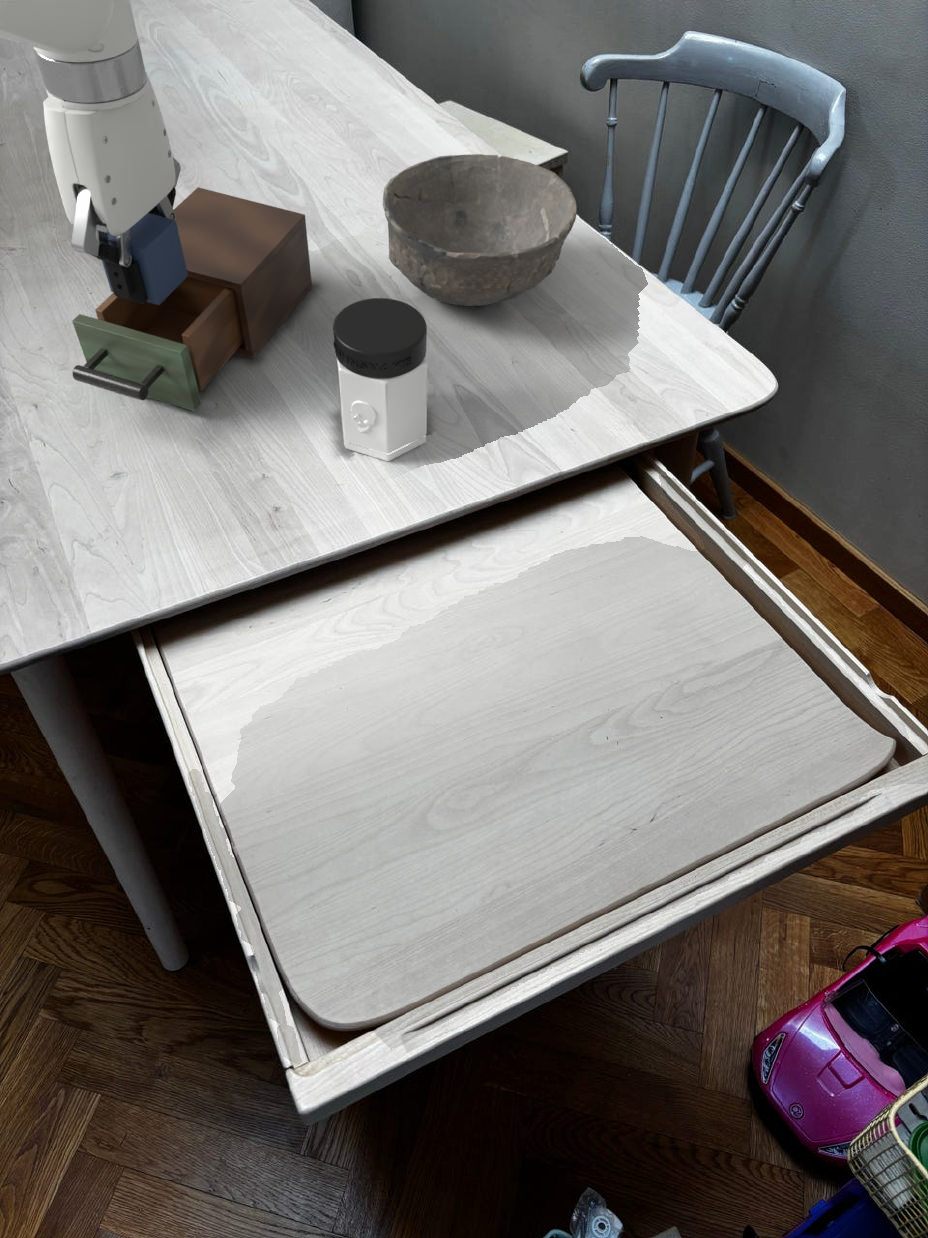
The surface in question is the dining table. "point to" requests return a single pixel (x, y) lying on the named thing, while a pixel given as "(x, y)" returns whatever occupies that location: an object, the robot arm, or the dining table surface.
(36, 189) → the dining table surface
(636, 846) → the dining table surface
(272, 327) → the cabinet
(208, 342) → the drawer
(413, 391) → the jar
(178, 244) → the block
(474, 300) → the bowl
